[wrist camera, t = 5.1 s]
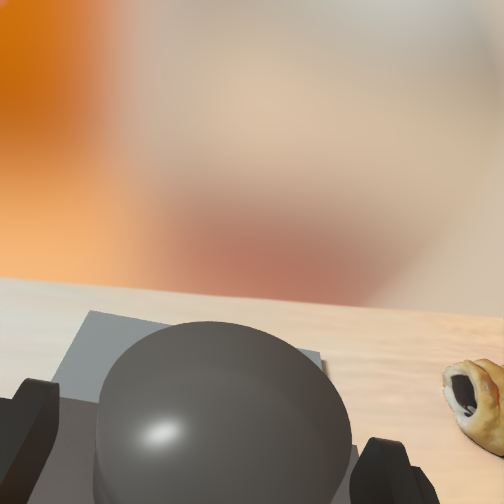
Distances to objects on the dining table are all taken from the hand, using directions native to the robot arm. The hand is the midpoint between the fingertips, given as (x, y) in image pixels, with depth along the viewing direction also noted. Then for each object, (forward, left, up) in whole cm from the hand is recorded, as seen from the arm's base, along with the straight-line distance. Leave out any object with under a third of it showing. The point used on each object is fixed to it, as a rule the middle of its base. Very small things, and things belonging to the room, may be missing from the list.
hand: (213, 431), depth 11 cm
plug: (0, -2, -11) cm, 11 cm away
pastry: (+21, +14, -12) cm, 27 cm away
